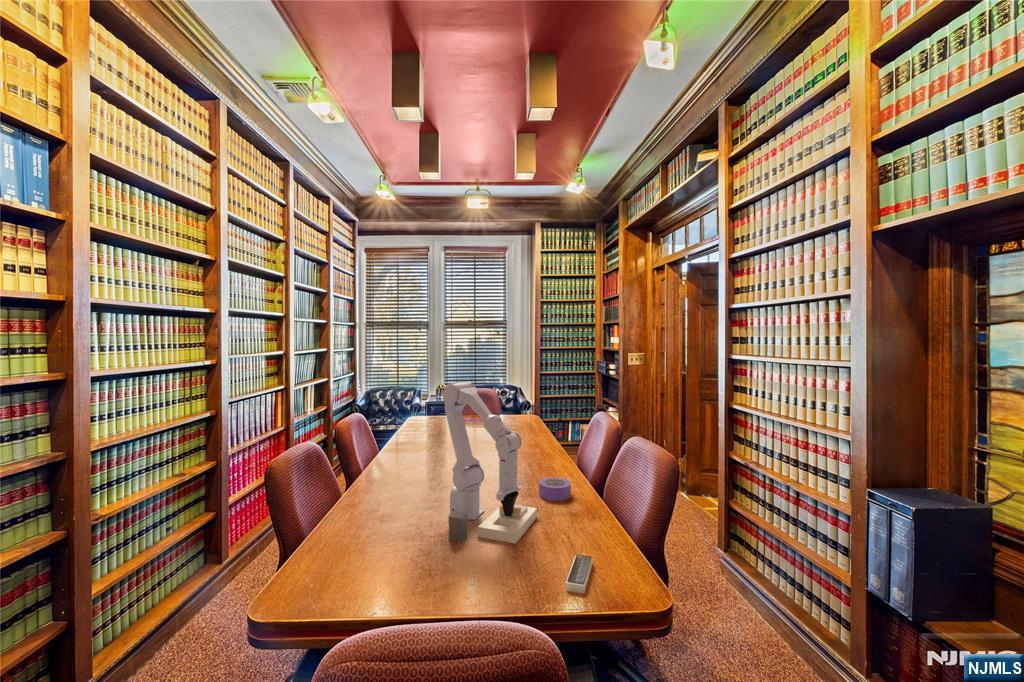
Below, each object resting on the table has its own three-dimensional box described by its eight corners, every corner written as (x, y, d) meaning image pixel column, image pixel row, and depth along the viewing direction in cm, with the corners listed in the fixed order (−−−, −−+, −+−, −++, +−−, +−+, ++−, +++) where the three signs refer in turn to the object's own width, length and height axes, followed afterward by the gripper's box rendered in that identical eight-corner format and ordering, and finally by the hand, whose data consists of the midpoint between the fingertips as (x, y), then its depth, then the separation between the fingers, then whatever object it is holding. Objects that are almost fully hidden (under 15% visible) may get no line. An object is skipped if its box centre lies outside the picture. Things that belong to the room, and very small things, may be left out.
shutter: (499, 514, 142) (499, 506, 142) (507, 506, 149) (507, 498, 149) (520, 517, 140) (520, 509, 140) (527, 509, 146) (527, 501, 146)
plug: (448, 540, 131) (448, 516, 131) (455, 534, 135) (455, 511, 135) (461, 542, 130) (461, 518, 130) (467, 536, 133) (467, 513, 133)
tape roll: (577, 497, 167) (577, 483, 167) (552, 503, 160) (552, 489, 160) (556, 488, 176) (556, 475, 176) (532, 494, 170) (532, 480, 170)
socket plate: (477, 536, 133) (477, 526, 133) (503, 512, 152) (503, 503, 152) (515, 543, 129) (515, 533, 129) (536, 517, 148) (537, 508, 148)
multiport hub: (565, 592, 105) (565, 582, 105) (576, 562, 119) (576, 553, 119) (584, 595, 104) (584, 585, 104) (592, 565, 118) (592, 556, 118)
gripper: (512, 480, 132) (511, 526, 132) (528, 467, 145) (528, 508, 145) (490, 477, 134) (489, 523, 134) (507, 464, 148) (507, 505, 148)
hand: (508, 515), depth 140 cm, fingers closed
